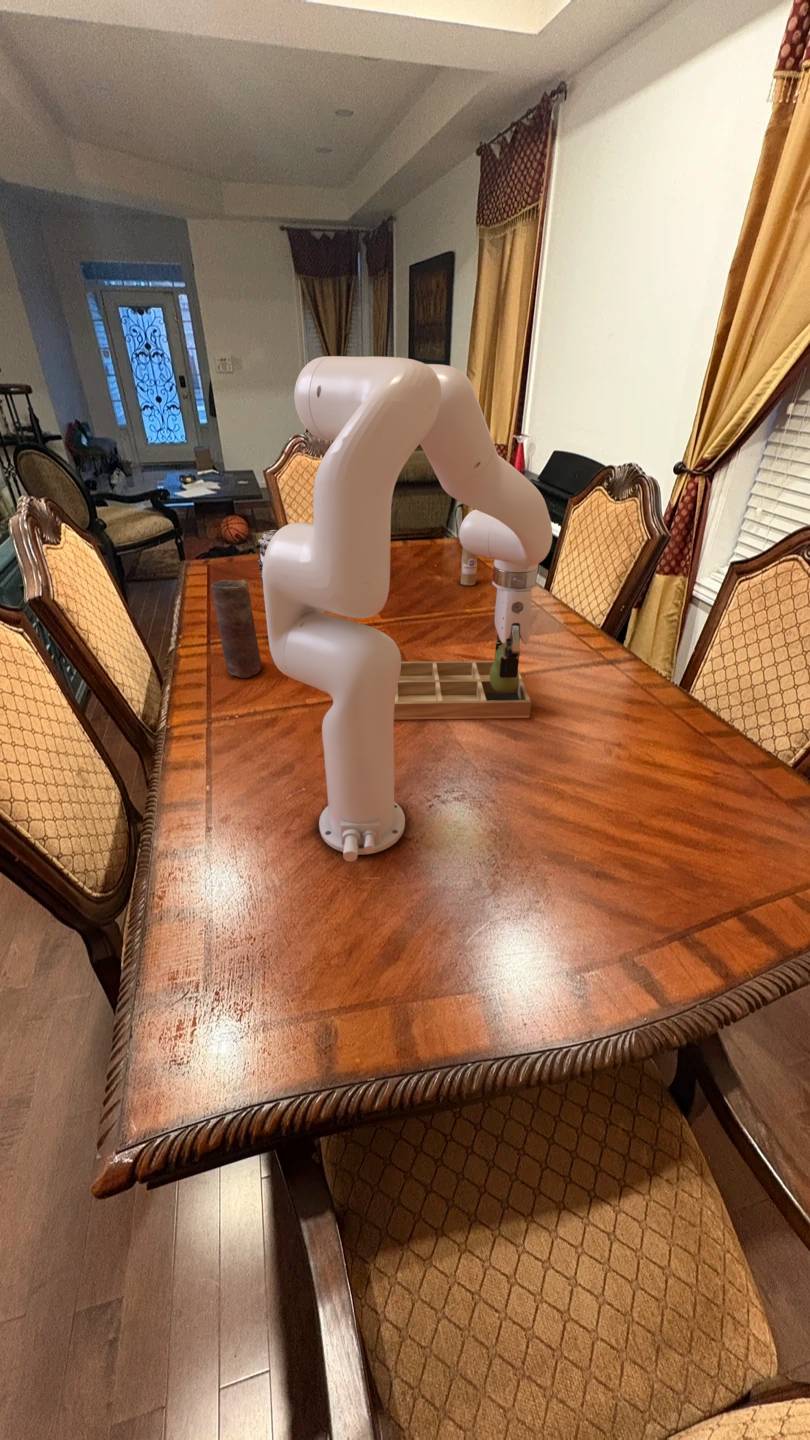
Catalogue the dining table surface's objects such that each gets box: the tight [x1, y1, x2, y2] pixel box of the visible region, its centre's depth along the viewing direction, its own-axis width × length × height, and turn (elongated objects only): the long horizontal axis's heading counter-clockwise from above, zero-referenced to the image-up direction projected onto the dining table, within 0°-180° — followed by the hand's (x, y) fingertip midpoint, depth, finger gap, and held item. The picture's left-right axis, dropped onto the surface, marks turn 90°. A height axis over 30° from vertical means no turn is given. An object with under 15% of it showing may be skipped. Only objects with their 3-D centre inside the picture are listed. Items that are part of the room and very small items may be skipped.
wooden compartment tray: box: [394, 660, 532, 721], centre depth 121 cm, size 17×26×4 cm
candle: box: [210, 579, 263, 679], centre depth 126 cm, size 8×7×20 cm
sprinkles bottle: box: [459, 547, 478, 587], centre depth 175 cm, size 5×5×14 cm
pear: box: [490, 643, 521, 694], centre depth 114 cm, size 6×5×10 cm
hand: (505, 668), depth 115 cm, fingers closed on pear, 5 cm apart
